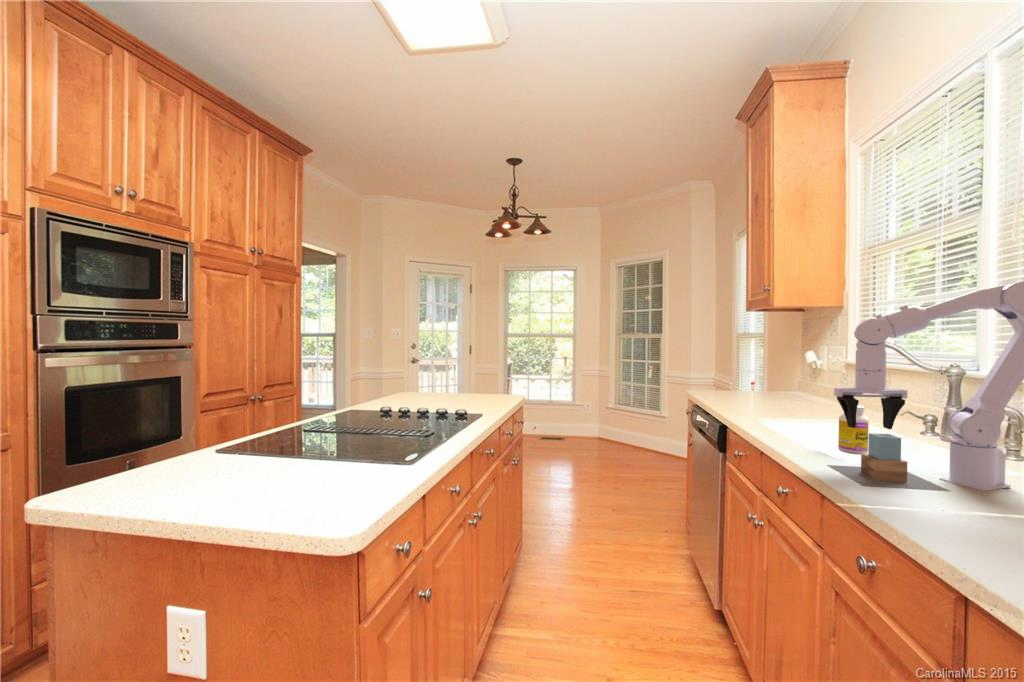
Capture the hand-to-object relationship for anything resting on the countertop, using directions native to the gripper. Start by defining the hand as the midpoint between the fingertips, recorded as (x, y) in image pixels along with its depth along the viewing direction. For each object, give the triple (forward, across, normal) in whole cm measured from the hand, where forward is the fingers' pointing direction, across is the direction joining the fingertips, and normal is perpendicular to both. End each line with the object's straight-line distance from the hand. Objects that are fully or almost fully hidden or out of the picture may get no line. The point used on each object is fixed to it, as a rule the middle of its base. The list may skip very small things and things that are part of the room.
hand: (869, 427), depth 110 cm
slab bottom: (+10, 0, -6) cm, 11 cm away
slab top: (+8, 0, -6) cm, 10 cm away
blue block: (+6, 0, -6) cm, 8 cm away
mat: (+10, 0, -6) cm, 12 cm away
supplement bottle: (+11, +6, +20) cm, 23 cm away
